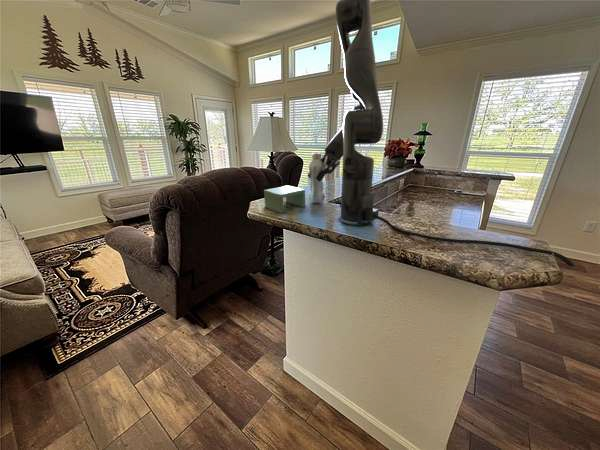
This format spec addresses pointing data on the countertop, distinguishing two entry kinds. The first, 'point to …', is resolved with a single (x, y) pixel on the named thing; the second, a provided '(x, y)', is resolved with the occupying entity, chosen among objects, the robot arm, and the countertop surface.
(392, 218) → the countertop surface
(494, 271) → the countertop surface
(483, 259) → the countertop surface
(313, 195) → the plastic bottle
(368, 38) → the robot arm
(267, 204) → the mint green box
